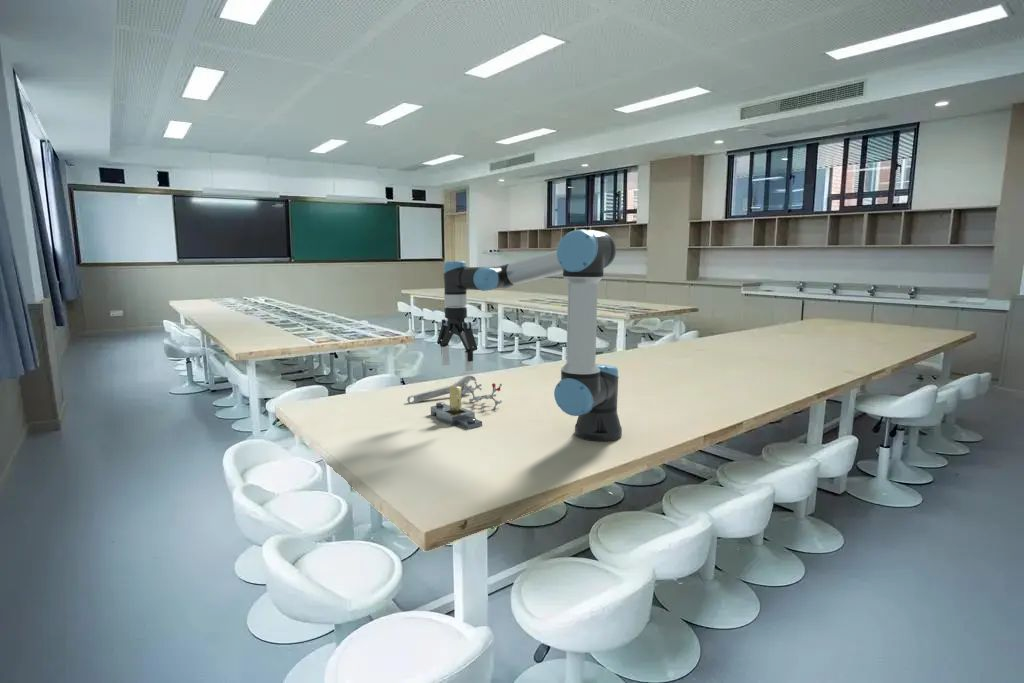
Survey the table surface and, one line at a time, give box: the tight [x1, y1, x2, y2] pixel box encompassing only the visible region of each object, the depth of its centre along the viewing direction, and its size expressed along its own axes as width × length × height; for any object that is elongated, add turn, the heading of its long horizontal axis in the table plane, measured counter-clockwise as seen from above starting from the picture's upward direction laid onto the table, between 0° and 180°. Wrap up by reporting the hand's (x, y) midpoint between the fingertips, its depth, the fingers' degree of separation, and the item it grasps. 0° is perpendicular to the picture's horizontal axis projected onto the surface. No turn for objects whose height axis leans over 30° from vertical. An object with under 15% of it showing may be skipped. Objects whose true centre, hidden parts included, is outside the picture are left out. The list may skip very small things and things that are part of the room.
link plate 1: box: [430, 401, 476, 422], centre depth 197 cm, size 16×10×4 cm, turn 41°
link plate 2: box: [436, 415, 483, 430], centre depth 192 cm, size 16×10×2 cm, turn 41°
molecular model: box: [463, 380, 503, 410], centre depth 213 cm, size 19×10×10 cm, turn 34°
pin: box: [449, 385, 462, 415], centre depth 194 cm, size 4×4×12 cm
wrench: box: [407, 374, 477, 404], centre depth 223 cm, size 8×2×30 cm
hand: (457, 367), depth 191 cm, fingers open, 13 cm apart
